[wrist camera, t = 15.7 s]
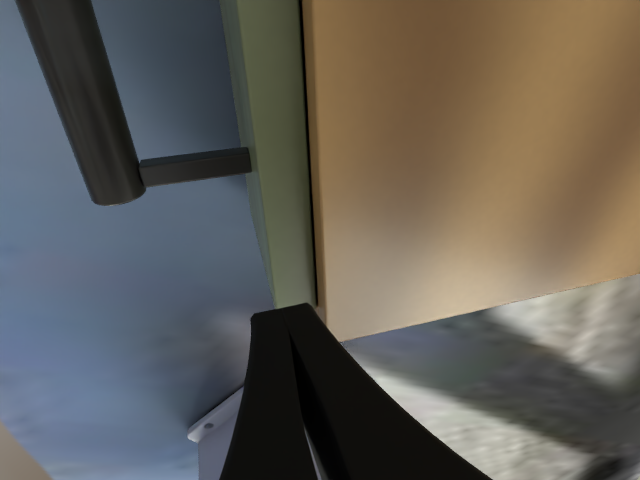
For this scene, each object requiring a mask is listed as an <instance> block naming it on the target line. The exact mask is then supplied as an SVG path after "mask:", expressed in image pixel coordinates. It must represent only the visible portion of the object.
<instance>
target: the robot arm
mask: <svg viewBox="0 0 640 480" xmlns="http://www.w3.org/2000/svg"><path fill="white" fill-rule="evenodd" d="M250 321H251V342H250V352H249V360H248V367H247V372H246V378H245V383H244V386H243V387H242V388H241V389H239V390H238V391H237V392H236V393H234V394H233V395H232V396H230V397H229V398H228V399H226V400H225V401H224V402H222V403H221V404H220V405H218V406H217V407H216V408H215V409H213V410H212V411H211V412H209V413H208V414H207V415H205V416H204V417H203V418H201V419H200V420H199V421H198V422H196V423H195V424H194V425H192V426H191V427H190V428H189V429H188V431H187V436H188V438H189V439H190V440H193V441H195V442H197V443H198V465H199V480H492V479H491V478H490V477H488V476H487V475H485V474H484V473H483V472H481V471H480V470H478V469H477V468H476V467H474V466H473V465H472V464H470V463H469V462H467V461H466V460H465V459H463V458H462V457H461V456H459V455H458V454H457V453H456V452H454V451H453V450H452V449H451V448H449V447H448V446H447V445H446V444H444V443H443V442H442V441H441V440H439V439H438V438H437V437H436V436H434V435H433V434H432V433H431V432H430V431H428V430H427V429H426V428H425V427H424V426H422V425H421V424H420V423H419V422H418V421H417V420H415V419H414V418H413V417H412V416H411V415H410V414H409V413H408V412H406V411H405V410H404V409H403V408H402V407H401V406H400V405H399V404H398V403H397V402H396V401H394V400H393V399H392V398H391V397H390V396H389V395H388V394H387V393H386V392H385V391H384V390H383V389H382V388H381V387H380V386H379V385H378V384H377V383H376V382H375V381H374V380H373V379H372V378H371V377H370V376H369V375H368V374H367V373H366V372H365V371H364V370H363V368H362V367H361V366H360V365H359V364H358V363H357V362H356V361H355V360H354V359H353V357H352V356H351V355H350V354H349V353H348V352H347V351H346V350H345V349H344V347H343V346H342V345H341V344H340V343H339V341H338V340H337V339H336V338H335V337H334V335H333V334H332V333H331V332H330V330H329V329H328V328H327V327H326V325H325V324H324V323H323V321H322V320H321V319H320V317H319V316H318V314H317V313H316V311H315V310H314V308H313V307H312V305H310V304H308V303H302V304H298V305H293V306H288V307H283V308H279V309H274V310H269V311H264V312H260V313H255V314H254V315H253V316H252V317H251V318H250Z"/></svg>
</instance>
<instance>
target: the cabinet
mask: <svg viewBox="0 0 640 480" xmlns="http://www.w3.org/2000/svg"><path fill="white" fill-rule="evenodd" d="M299 2H300V19H301V37H302V55H303V72H304V54H303V36H302V18H301V0H299ZM302 7H303V26H304V44H305V63H306V82H307V100H308V119H309V137H310V156H311V175H312V193H313V196H312V194H311V180H310V196H311V213H312V231H313V248H314V266H315V284H316V301H317V308H316V309H314V310H315V311H316V313H317V314H318V316H319V317H320V319H321V320H322V321H323V323H324V324H325V325H326V327H327V328H328V329H329V330H330V332H331V333H332V334H333V335H334V337H335V338H336V339H337V340H338V341H339V342H343V341H347V340H351V339H356V338H360V337H364V336H369V335H373V334H378V333H382V332H386V331H391V330H395V329H399V328H404V327H408V326H413V325H417V324H421V323H426V322H430V321H434V320H439V319H443V318H448V317H452V316H456V315H461V314H465V313H469V312H474V311H478V310H483V309H487V308H491V307H496V306H500V305H504V304H509V303H513V302H518V301H522V300H526V299H531V298H535V297H539V296H544V295H548V294H553V293H557V292H561V291H566V290H570V289H574V288H579V287H583V286H588V285H592V284H596V283H601V282H605V281H609V280H614V279H618V278H623V277H627V276H631V275H636V274H640V0H302ZM304 90H305V72H304ZM305 107H306V90H305ZM306 125H307V108H306ZM307 143H308V126H307ZM308 160H309V144H308ZM309 178H310V162H309Z"/></svg>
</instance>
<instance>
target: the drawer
mask: <svg viewBox="0 0 640 480" xmlns="http://www.w3.org/2000/svg"><path fill="white" fill-rule="evenodd" d="M219 1H220V8H221V15H222V21H223V28H224V35H225V42H226V48H227V55H228V62H229V69H230V75H231V82H232V89H233V95H234V102H235V109H236V116H237V122H238V129H239V136H240V143H241V147H239V148H232V149H224V150H216V151H208V152H200V153H192V154H184V155H176V156H168V157H160V158H152V159H144V160H141V161H140V164H139V161H138V157H137V154H136V151H135V147H134V144H133V140H132V137H131V134H130V130H129V127H128V124H127V120H126V117H125V113H124V110H123V107H122V103H121V100H120V97H119V93H118V90H117V86H116V83H115V80H114V76H113V73H112V70H111V66H110V63H109V59H108V56H107V53H106V49H105V46H104V43H103V39H102V36H101V32H100V29H99V26H98V22H97V19H96V15H95V12H94V9H93V5H92V2H91V0H15V2H16V5H17V7H18V10H19V12H20V15H21V18H22V20H23V23H24V25H25V28H26V31H27V33H28V36H29V38H30V41H31V44H32V46H33V49H34V51H35V54H36V57H37V59H38V62H39V65H40V67H41V70H42V72H43V75H44V78H45V80H46V83H47V85H48V88H49V91H50V93H51V96H52V98H53V101H54V104H55V106H56V109H57V111H58V114H59V117H60V119H61V122H62V125H63V127H64V130H65V132H66V135H67V138H68V140H69V143H70V145H71V148H72V151H73V153H74V156H75V158H76V161H77V164H78V166H79V169H80V171H81V174H82V177H83V179H84V182H85V184H86V187H87V190H88V192H89V195H90V198H91V200H92V201H93V202H94V203H95V204H97V205H102V206H113V205H120V204H124V203H128V202H131V201H133V200H135V199H137V198H139V197H141V196H142V195H143V194H144V193H145V192H146V187H153V186H160V185H168V184H175V183H182V182H189V181H197V180H204V179H211V178H218V177H225V176H233V175H240V174H245V176H246V183H247V190H248V196H249V203H250V210H251V216H252V220H253V224H254V228H255V232H256V236H257V239H258V243H259V247H260V251H261V255H262V259H263V263H264V267H265V271H266V275H267V279H268V283H269V287H270V291H271V295H272V299H273V303H274V307H275V309H279V308H283V307H288V306H293V305H298V304H302V303H308V304H310V305H312V307H313V308H314V309H316V308H317V301H316V284H315V266H314V248H313V231H312V213H311V196H310V180H311V194H312V196H313V193H312V175H311V156H310V137H309V119H308V100H307V82H306V63H305V44H304V26H303V7H302V0H301V18H302V36H303V54H304V72H305V90H306V107H305V90H304V72H303V55H302V37H301V19H300V2H299V0H219ZM306 108H307V125H306ZM307 126H308V143H307ZM308 144H309V160H308ZM309 162H310V178H309Z"/></svg>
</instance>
